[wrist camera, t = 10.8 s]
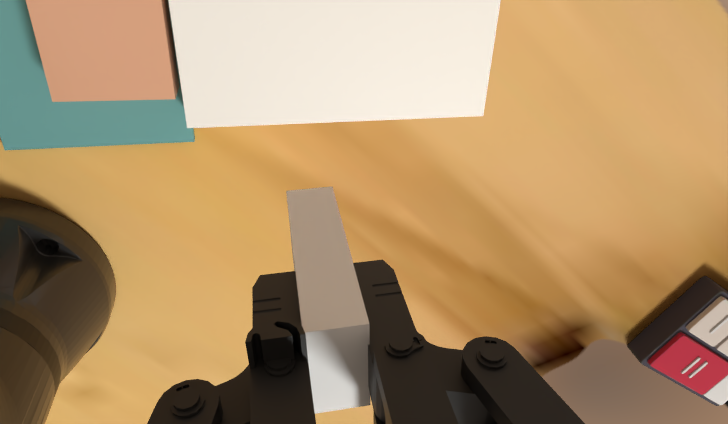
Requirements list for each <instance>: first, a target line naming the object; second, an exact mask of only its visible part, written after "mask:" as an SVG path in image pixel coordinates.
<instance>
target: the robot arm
mask: <svg viewBox="0 0 728 424" xmlns="http://www.w3.org/2000/svg"><path fill="white" fill-rule="evenodd" d="M286 192H287V202H288V212H289V222H290V232H291V242H292V252H293V262H294V271H292V272H284V273H275V274H267V275H260V276H259V278H258V280H257V281H256V283H255V285H254V286H253V328H252V330H251V331H250V332H249V333H248V335H247V338H246V342H245V343H246V348H247V354H248V360H249V365H248V366H247V367H246V369H245V370H244V371H243V372H242V373H240V374H239V375H238V376H237V377H235V378H233V379H231V380H229V381H227V382H225V383H222V384H220V385H217V386H214V385H212V384H211V383H210V382H208V381H204V380H199V379H194V380H186V381H183V382H181V383H178V384H176V385H174V386H172V387H171V388H170V389H168V390H167V391H166V392H164V394H163V395H162V396H161V398H160V399H159V401H158V402H157V404H156V406H155V408H154V410H153V413H152V415H151V417H150V419H149V421H148V423H147V424H316V420H315V413H322V412H328V411H335V410H341V409H347V408H354V407H360V406H367V405H370V396H371V400H372V404H373V409H374V424H585V423H584V422H583V421H582V420H581V419H580V418H579V417H578V416H577V415H576V414H575V413H574V412H573V410H572V409H571V408H570V407H569V406H568V405H567V404H566V403H565V402H564V401H563V400H562V399H561V397H560V396H559V395H558V394H557V393H556V392H555V391H554V390H553V389H552V388H551V387H550V386H549V385H548V384H547V382H546V381H545V380H544V379H543V378H542V377H541V376H540V375H539V374H538V373H537V372H536V371H535V369H534V368H533V367H532V366H531V365H530V364H529V363H528V362H527V361H526V360H525V359H524V358H523V357H522V355H521V354H520V353H519V352H518V351H517V350H516V349H515V348H514V347H513V346H511V345H510V344H509V343H507V342H506V341H503V340H501V339H498V338H494V337H479V338H475V339H473V340H471V341H470V342H468V343H467V344H466V346H465V347H464V349H463V350H457V349H448V348H443V347H438V346H435V345H433V344H430V343H429V342H427V341H426V340H425V338H424V337H423V336H422V335H421V334H419V333H418V332H417V331H416V329H415V326H414V323H413V321H412V318H411V315H410V313H409V310H408V307H407V305H406V302H405V299H404V296H403V294H402V291H401V288H400V286H399V284H398V280H397V278H396V275H395V272H394V270H393V269H392V268H391V267H390V266H389V265H388V264H387V263H386V262H385V261H383V260H376V261H368V262H359V263H353V261H352V257H351V254H350V250H349V246H348V242H347V239H346V235H345V231H344V228H343V224H342V220H341V217H340V213H339V209H338V205H337V202H336V198H335V194H334V191H333V187H322V188H312V189H302V190H291V191H286ZM115 296H116V283H115V277H114V273H113V270H112V267H111V265H110V263H109V261H108V259H107V257H106V256H105V254H104V252H103V251H102V250H101V248H100V247H99V246H98V245H97V243H96V242H95V241H94V240H93V239H92V238H91V237H90V236H89V235H88V234H87V233H85V232H84V231H83V230H82V229H81V228H79V227H78V226H77V225H75V224H74V223H72V222H71V221H69V220H67V219H66V218H64V217H62V216H60V215H58V214H56V213H54V212H52V211H50V210H47V209H45V208H42V207H40V206H37V205H34V204H30V203H27V202H23V201H19V200H14V199H7V198H0V424H45V422H46V419H47V416H48V414H49V411H50V408H51V406H52V403H53V400H54V397H55V394H56V391H57V389H58V386H59V384H60V382H61V381H62V380H63V379H64V378H65V377H66V376H67V375H68V373H69V372H70V371H71V370H72V369H73V368H74V367H75V365H76V364H77V363H78V362H79V361H80V359H81V358H82V357H83V356H84V355H85V354H86V353H87V352H88V351H89V350H90V349H91V348H92V347H93V346H94V345H95V344H96V343H97V342H98V340H99V339H100V337H101V336H102V334H103V332H104V330H105V329H106V326H107V324H108V321H109V318H110V315H111V312H112V309H113V305H114V302H115Z"/></svg>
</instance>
